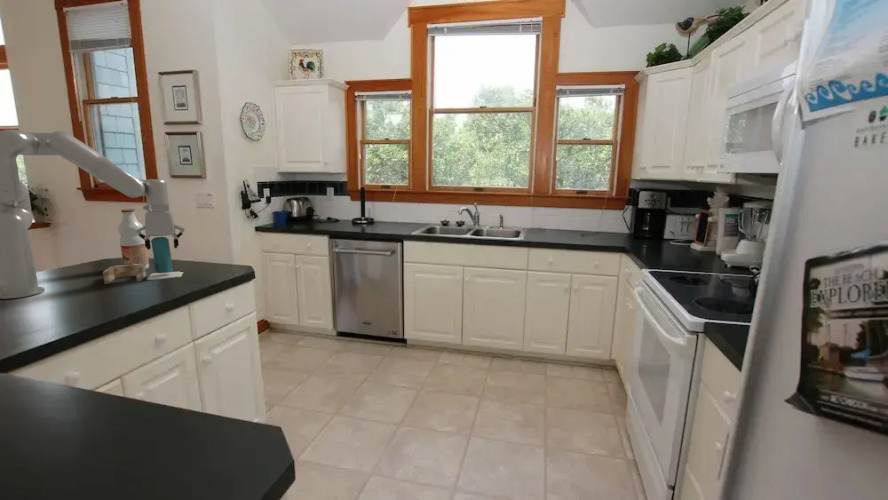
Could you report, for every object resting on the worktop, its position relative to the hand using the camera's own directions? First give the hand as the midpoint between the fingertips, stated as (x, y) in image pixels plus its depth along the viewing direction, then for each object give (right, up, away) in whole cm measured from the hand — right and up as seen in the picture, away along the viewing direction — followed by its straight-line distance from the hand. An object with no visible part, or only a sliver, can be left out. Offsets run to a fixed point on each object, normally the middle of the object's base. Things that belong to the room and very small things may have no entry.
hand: (162, 248), depth 174 cm
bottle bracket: (-13, -13, -4) cm, 18 cm away
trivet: (0, -12, +2) cm, 12 cm away
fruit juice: (-21, -10, +14) cm, 27 cm away
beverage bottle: (0, -12, +2) cm, 12 cm away
